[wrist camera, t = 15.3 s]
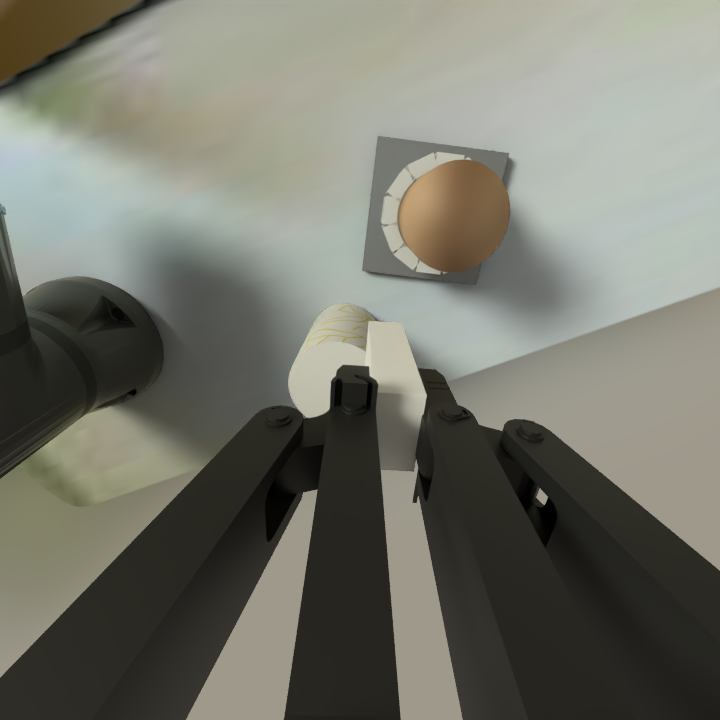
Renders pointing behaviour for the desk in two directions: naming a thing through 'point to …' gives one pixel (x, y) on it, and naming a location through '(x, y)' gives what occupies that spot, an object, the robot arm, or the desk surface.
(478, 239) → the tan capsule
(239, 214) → the desk surface
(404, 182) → the socket
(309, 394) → the cup
